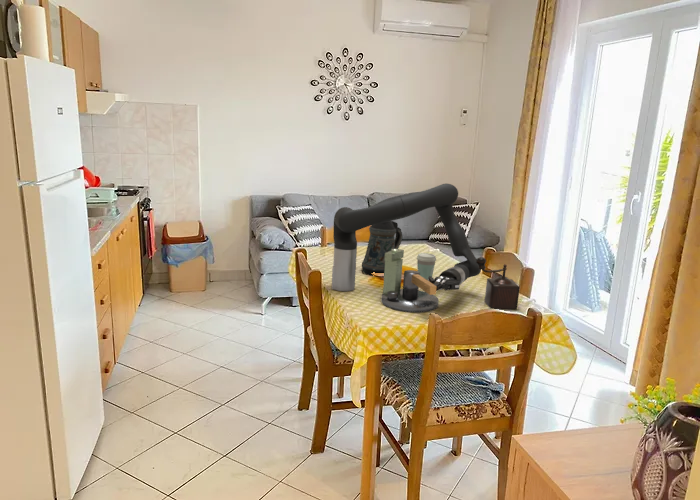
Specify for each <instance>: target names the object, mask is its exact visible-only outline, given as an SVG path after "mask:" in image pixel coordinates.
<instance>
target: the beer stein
mask: <svg viewBox="0 0 700 500" xmlns="http://www.w3.org/2000/svg"><path fill="white" fill-rule="evenodd" d="M368 230H369V236H368V237H369V238H368V242H367V247H366V251H365V255H364V258H363V260H362V262H361V269H362V273H363V274H364V275H366V276H367V275H368V276H371V277H374V276H373V275H372V274H371V273H373V272H375V273H384V271H385V261H384V260H385V253H387V252H390V251H392V249H400V246H401V245H402V241H403V232H402V229H401V228H400V227H398V223H397V222H396V221H395V220H393V221H388V222H384V223H378V224H374V225H370V226H369V228H368Z"/></svg>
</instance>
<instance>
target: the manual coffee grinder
mask: <svg viewBox="0 0 700 500" xmlns="http://www.w3.org/2000/svg"><path fill="white" fill-rule="evenodd" d="M476 259H477V260H476V263H477V264H478V265H479V269H481V271H482V272H484V273H489V274H490V273H500V272H502V274H499V276H497V277H492V278H491V277H487V278H486V286H485V295H484V303H485V304H486V305H487V307H489V308H490V309H491V308H494V309H493V310H510V311H511V310H513V311H514V310H516V311H517V310H518V306H519V305H518V303H519V298H520V297H519V296H520V286H519V285H518V284H517V282H515V281H514V280H513V278H508V276H507V277H506V271H507V264H505V263H504V264H503V265H502V266H503V267H502V268H500V269H492V270H488V269H486V268H487V267H486V265H485V264H486V263H487V259H486V257H483V256H481V257H480V256H479V257H476Z"/></svg>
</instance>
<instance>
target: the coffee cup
mask: <svg viewBox="0 0 700 500" xmlns="http://www.w3.org/2000/svg"><path fill="white" fill-rule="evenodd" d="M416 260H417V261H416V262H417V263H416V265H417V271H418V272H420V276H421V277H423V278H425V279H426V280H428V277H429V276H431V277H432V278H433V275H434V271H435V264H436V261H437V257H436V255H435V254H433V253H429V252H421V253H417V257H416Z"/></svg>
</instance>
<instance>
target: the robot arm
mask: <svg viewBox="0 0 700 500" xmlns="http://www.w3.org/2000/svg"><path fill="white" fill-rule="evenodd" d="M458 197H459V190H458V188H457V187H456V186H455V185H453V184H451V183H441V184H440V185H437V186H434V187H431V188H428V189H425V190H422V191H417V192H410V193H405V194H401V195H395V196H392V197H388V198H386V199H383V200H381V201H379V202H377V203H375V204H373V205H371V206H368V207H363V208H359V209H353V208H350V207H348V206H347V207H346V206H344V207H341V208H339V209H337V210H336V212H335V213H334V216H333V235H332V236H333V261H332V262H333V264H332V271H331V272H332V274H331V290H334V291H335V290H336V291H339V292H349V291H350V292H351V291H354V290H355V288H356V286H355V285H356V273H357V272H356V271H357V255H358V254H357V252H358V251H357V250H358V241H357V235H356V232H357V231H359V230H362V229H364V228H367V227H370V226H372V225H374V224H378V223H384V222H388V221H397V220H401V219H404V218H408V217H410V216H413V215H415V214H417V213H419V212H422V211H425V210H428V209H431V208H435V210H436V211H437V214H438V215H439V217H440V220H441V222H442V224H443V227H444V229H445V233H446V235H447V238H448V242H449V245H450V247H451V249H452V253H453V256H455V257H464V258H465V259H466V260H462V261H460V262H457V263H456V264H454V265H453V266H451V267H449V268H447V269H445V270H444V271H442V272H441V273H440V274H439V276H435V278H434V277H433V276H432V277H431V276H429V277H428V281H429V282H431V283H432V284H434V285H435V286H437V288H436V292H438V291H440V290H444V291H456V290H457V291H459V290H460V285H462V284H463V283H464V282H466V281H467V279H469V278H472V277H475V276H478V275H480V274H481V271H482V270H481V269H479V265H478V264H477V263H476V260H477V257H476V256H475V254H474V253H473V251H472V249H471V247H470V245H469V241H468V239H467V235H466V232H465V231H464V228H463V227H462V226H461V224H460V223H459V220H458V219H457V217H456V215H455V212H454V206H453V205H454V204H455V203H456V202H457V200H458Z"/></svg>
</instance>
